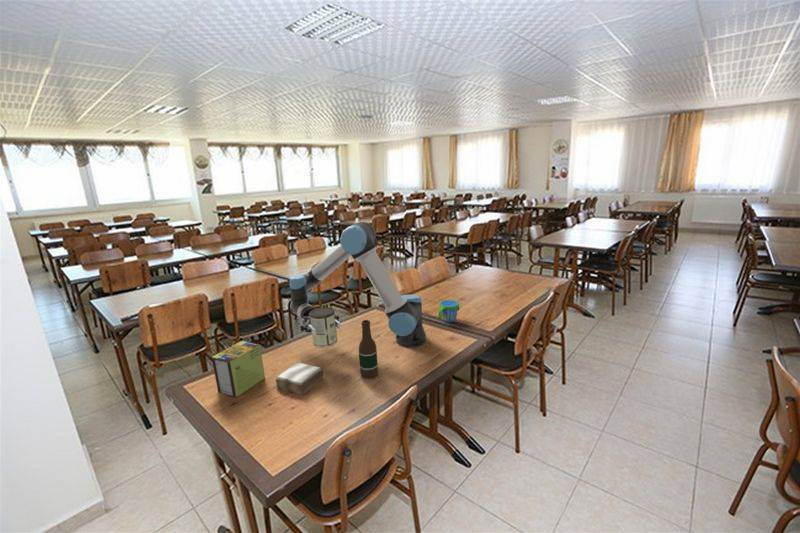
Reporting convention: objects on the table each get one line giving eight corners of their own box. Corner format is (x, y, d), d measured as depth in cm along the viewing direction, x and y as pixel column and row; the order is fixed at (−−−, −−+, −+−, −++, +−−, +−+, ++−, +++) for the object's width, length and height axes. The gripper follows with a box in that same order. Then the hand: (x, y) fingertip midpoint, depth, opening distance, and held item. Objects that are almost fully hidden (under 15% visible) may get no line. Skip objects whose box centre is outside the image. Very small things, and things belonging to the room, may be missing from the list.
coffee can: (317, 337, 164) (314, 306, 161) (340, 337, 163) (337, 306, 159) (309, 347, 154) (305, 316, 151) (333, 348, 153) (330, 316, 150)
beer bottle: (381, 371, 158) (378, 318, 152) (374, 381, 151) (370, 326, 145) (364, 368, 160) (360, 316, 154) (356, 378, 153) (352, 324, 147)
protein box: (265, 377, 157) (260, 344, 153) (236, 398, 144) (229, 361, 140) (247, 373, 161) (242, 340, 157) (217, 392, 148) (210, 356, 144)
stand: (323, 378, 154) (322, 367, 153) (302, 395, 143) (301, 383, 142) (298, 372, 160) (297, 361, 159) (277, 388, 149) (275, 376, 148)
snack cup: (445, 327, 199) (445, 309, 196) (432, 321, 207) (431, 304, 204) (465, 319, 208) (466, 302, 205) (452, 314, 216) (452, 297, 213)
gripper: (331, 315, 178) (352, 330, 160) (284, 327, 166) (302, 345, 148) (330, 300, 176) (351, 314, 158) (282, 311, 164) (299, 328, 146)
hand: (327, 329), depth 153 cm, fingers closed on coffee can, 10 cm apart
